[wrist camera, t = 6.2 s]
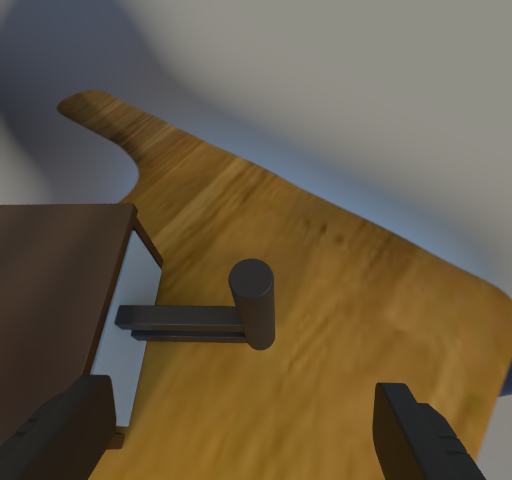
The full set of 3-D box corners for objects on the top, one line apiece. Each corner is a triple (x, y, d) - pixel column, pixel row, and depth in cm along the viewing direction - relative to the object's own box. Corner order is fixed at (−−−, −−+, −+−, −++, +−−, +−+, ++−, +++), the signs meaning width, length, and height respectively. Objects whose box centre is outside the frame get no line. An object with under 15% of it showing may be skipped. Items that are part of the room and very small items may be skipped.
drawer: (275, 271, 26) (274, 182, 17) (275, 433, 20) (272, 424, 11) (5, 270, 27) (-125, 187, 19) (-71, 419, 22) (-315, 402, 13)
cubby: (167, 259, 27) (133, 203, 21) (128, 449, 20) (57, 452, 14) (-5, 258, 28) (-87, 205, 22) (-101, 439, 21) (-266, 437, 15)
